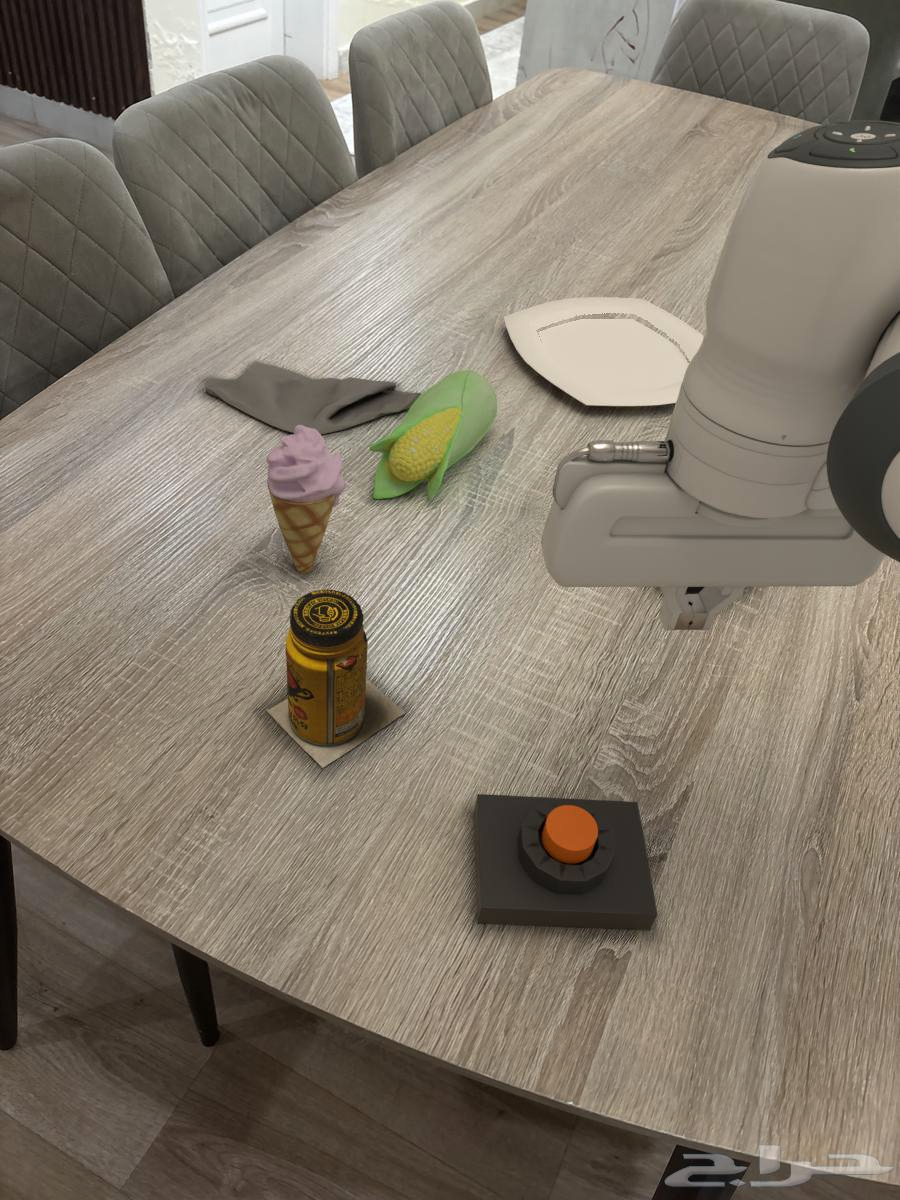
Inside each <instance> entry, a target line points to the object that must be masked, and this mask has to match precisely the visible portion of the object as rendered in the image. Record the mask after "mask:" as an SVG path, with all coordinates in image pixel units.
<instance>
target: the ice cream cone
mask: <svg viewBox="0 0 900 1200" xmlns="http://www.w3.org/2000/svg"><path fill="white" fill-rule="evenodd" d="M280 441H281V444H280V445H278V446H275V447H273V449H271V450H270V451H269V453H268V455H267V458H266V462H267V464H268V467H267V481H266V484H267V489H268V493H269V496H270V500H271V504H272V507H273V511H274V514H275V517H276V520H277V524H278V527H279V529H280V532H281V534H282V537H283V540H284V543H285V545H286V547H287V550H288V552H289V555H290V557H291V559H292V562H293V564H294V567H295V569H296V570H295V571H296V572H297V573H299V574H301V575H305V574H309V573H310V572H311V571H312V569H313V566H314V564H315V560H316V557H317V556H318V553H319V550H320V548H321V545H322V542H323V539H324V536H325V533H326V531H327V528H328V524H329V521H330V518H331V514H332V511H333V508H334V507H335V508H336V507H337V506H338V505H339V503H340V496H341V495H342V494H343V493H344V491H345V490H346V487H347V483H346V480H345V477H344V476H343V474H342V473H341V471H342V470H343V453H342V451H339V452H336V453H335V454H332V453H331V452H330V451H329V450H328V448H326V440H325V438H324V437H323V436H322V434H320V433H319V432H318V431H317V430H316V429H313V428H308V427H305V426H303V425H297V426H296V427H295V428H294V433H293V434H289V435H282V436H281V437H280Z"/></svg>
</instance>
